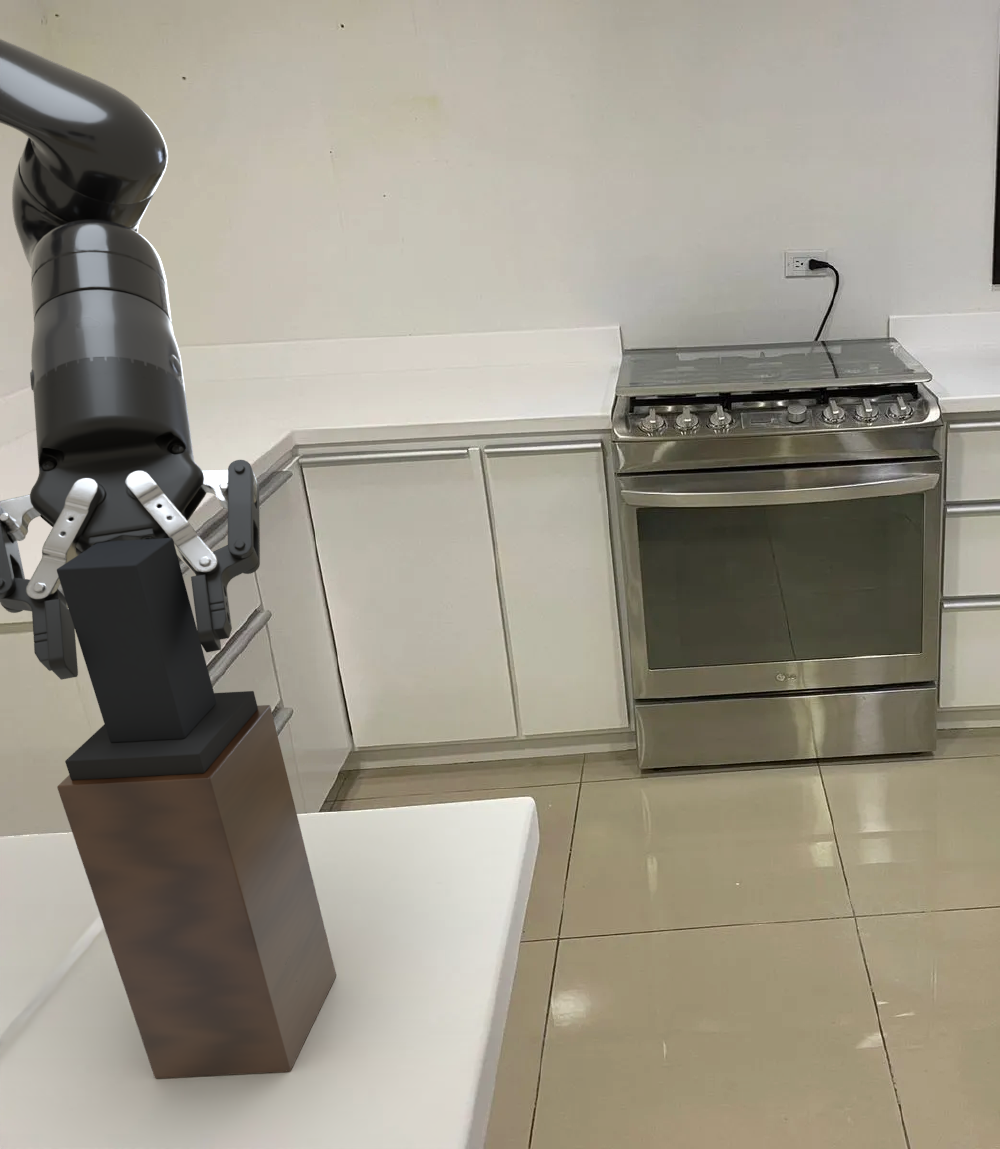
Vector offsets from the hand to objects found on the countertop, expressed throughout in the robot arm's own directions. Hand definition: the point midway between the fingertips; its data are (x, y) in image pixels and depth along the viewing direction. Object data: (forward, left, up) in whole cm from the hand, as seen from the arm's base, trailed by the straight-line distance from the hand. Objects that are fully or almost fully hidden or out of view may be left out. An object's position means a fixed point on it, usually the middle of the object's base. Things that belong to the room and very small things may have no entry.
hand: (137, 658), depth 58 cm
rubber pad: (-1, +2, -6) cm, 6 cm away
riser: (-1, +2, -26) cm, 26 cm away
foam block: (-1, +2, -5) cm, 5 cm away
